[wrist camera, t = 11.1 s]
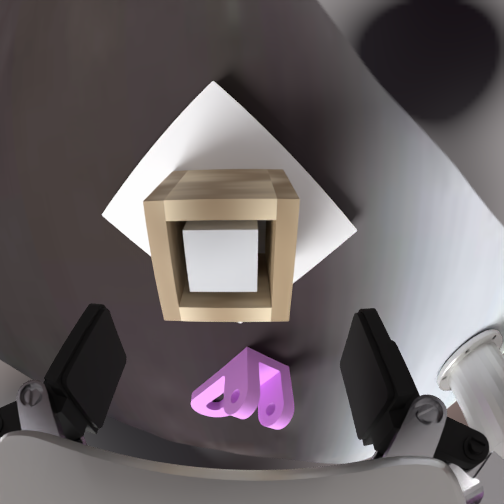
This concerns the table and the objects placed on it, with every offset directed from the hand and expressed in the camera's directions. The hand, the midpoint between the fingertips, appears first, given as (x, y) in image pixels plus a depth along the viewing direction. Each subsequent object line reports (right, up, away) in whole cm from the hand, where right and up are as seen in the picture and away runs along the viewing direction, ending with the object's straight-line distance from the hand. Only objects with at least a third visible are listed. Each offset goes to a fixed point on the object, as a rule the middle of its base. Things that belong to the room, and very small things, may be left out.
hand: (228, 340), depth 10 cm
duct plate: (-1, +6, +10) cm, 12 cm away
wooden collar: (-1, +5, +9) cm, 10 cm away
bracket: (-1, -12, +20) cm, 24 cm away
